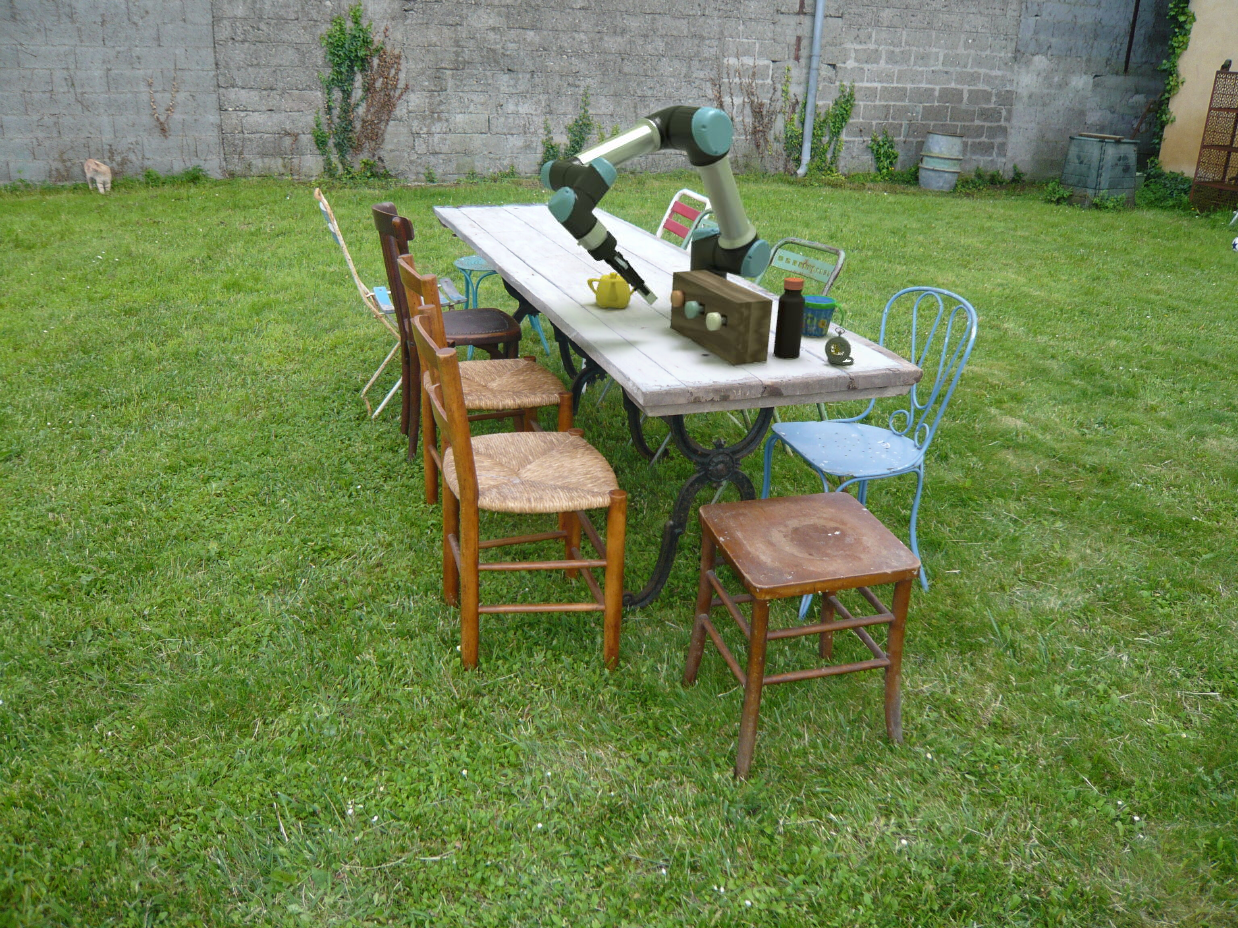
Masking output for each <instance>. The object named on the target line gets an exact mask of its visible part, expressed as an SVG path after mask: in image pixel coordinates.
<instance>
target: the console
mask: <svg viewBox="0 0 1238 928" xmlns="http://www.w3.org/2000/svg"><path fill="white" fill-rule="evenodd" d="M671 286H672V288H671V292H672V291H679V290H681V291H682V292H683V295H684V304H683V306H682V307H673V306H672V304H671V303H670V304H671V306H670V308H671V309H670V326H669V329H671V330H673V331H674V332H676V333H678V334H679V335H681V336H683V338H684V337H685V338H686V339H688V340H689V339H690V341H691V342H693V343H695V344H697V345H698V346H699V347H701V348H702V349H704V350H706V351H708V352H710V353H711V354H713V355H715V356H716V357H717V358H720V359H721V360H722V361H725V362H726V363H728V364H730V365H732V366H738V365H739V366H741V365H747V364H755V363H754V362H758V363H764V362H763V361H767V362H768V354H769V352H768V351H769V343H770V331H771V325H772V324H771V323H772V313H773V302H774V300H773V299H772V298H769V297H767V296H765V295H763V294H760V293H758V292H755V291H754V290H751V289H748V288H747V287H744V286H742V285H741V284H737V283H735V282H733V281H730V280H728V279H727V280H726V279H724V278H722V277H720V276H717V275H715V274H713V273H711V272H708V271H706V270H697V271H690V270H686V271H684V270H683V271H673V272H672V285H671ZM690 301H696V302H697V303H698V306H705V312H699V315H698V317H697V318H690V319H688V318H687V317H686V315H685V304H686V302H690ZM715 312H717V313H719V314H720V316H721V318H723V317H727V324H721V327H720V329H719V330H712V331H710V330H709V329H708V328H707V325H706V317H707V314H708V313H715Z"/></svg>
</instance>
